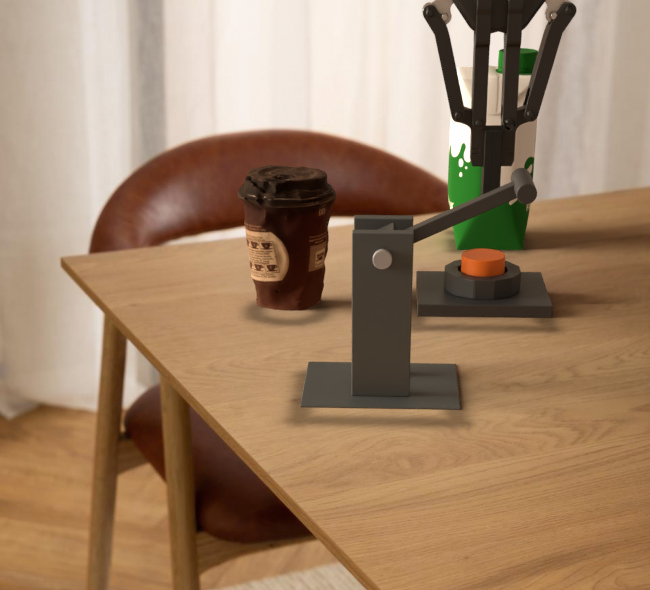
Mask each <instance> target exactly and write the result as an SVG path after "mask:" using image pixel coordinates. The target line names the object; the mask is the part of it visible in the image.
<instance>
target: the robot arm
mask: <svg viewBox="0 0 650 590" xmlns="http://www.w3.org/2000/svg"><path fill="white" fill-rule="evenodd" d="M453 4H454V6H455V8H456V9H457V11H458V12H459V13H460V15H461V17H462V18H463V20H464V21H465V23H466V24H467V26H468V27H469V28H470V30H472V32H473V47H472V48H473V49H472V50H473V51H472V67H473V74H472V100H471V109H470V108H468V107H465V106H464V104H463V99H462V94H461V89H460V84H459V79H458V74H457V65H456V60H455V56H454V55H455V54H454V51H453V50H454V49H453V46H452V40H451V36H450V32H449V29H448V26H447V25H448V24H449V23H450V22H451V20H452V17H453V16H452V11H451V8H452V5H453ZM544 4H545V10H544V18H545V20H546V21H547V23H546V25H545V27H544V30H543V33H542V37H541V41H540V44H539V47H538V50H537V51H538V54H537V57H536V61H535V64H534V68H533V71H532V75H531V78H530V82H529V85H528V89H527V92H526V95H525V99H524V102H523V106H520V107H518V108H517V106H518V86H519V67H520V48H522V37H523V36H522V35H523V31H524V30H525V29H526V28H527V27H528V26H529V24H530V23H531V21H532V20H533V19H534V17H535V16H536V14H537V13H538V12H539V11H540V9H541V8H542V6H543V5H544ZM421 11H422V12H421V13H422V17H423V18H424V21H426V23H427V25H428V27H429V29H430V30H431V32H432V33H433V35H434V40H435V43H436V48H437V52H438V58H439V63H440V67H441V68H440V69H441V72H442V78H443V83H444V87H445V91H446V97H447V101H448V106H449V111H450V117H451V116H452V119H453V120H454V121H455V122H457V123H462V124H465V125H467V126H468V127H469V128H470V129H471V136H470V161H471V164H472V166H473V167H482V178H481V195H483V194H485V193H487V192H490V191H492V190H494V189H496V188H499V187H500V180H501V166H512V164H513V162H514V153H515V134H516V130H517V128H518V127H519V126H520V125H522V124H524V123H527V122H533V121H535V120H536V119H537V120H538V117H539V115H540V110H541V107H542V103H543V100H544V97H545V94H546V90H547V87H548V84H549V80H550V77H551V73H552V71H553V67H554V63H555V60H556V57H557V53H558V50H559V46H560V43H561V40H562V37H563V34H564V32H565V31H566V29H567V28H568V26H569V25H570V23H571V22H572V21H573V19H574V17H575V16H576V14H577V11H578V10H577V6H576V4H575V3H573V2H572V1H570V0H433V1H430V2H426V3H425V4H423V6H422V9H421ZM497 32H499V33H502V34H503V49H504V51H503V74H502V96H501V125H486V117H487V95H488V72H489V66H490V48H491V38H492V37H491V34H495V33H497ZM498 207H499V206H498Z"/></svg>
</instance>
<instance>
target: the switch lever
mask: <svg viewBox="0 0 650 590" xmlns="http://www.w3.org/2000/svg"><path fill="white" fill-rule="evenodd" d="M537 197H538V190H537V188H536V184H535V182H534V179H533V180H532V178H531V175H530V173H529V171H528V170H527V169H525V168H518V169H516V170H514V171H513V173H512V175H511V182H510V183H508V184H505V185H503V186H501V187H499V188H496V189H494V190H492V191H490V192H487V193H485V194H483V195H481V196H479V197H476V198H474V199H472V200H470V201H467V202H465V203H463V204H461V205H458V206H456V207H454V208H452V209H450V208H449V209H446V210H445V211H443V212H440V213H438V214H436V215H434V216H431V217H430V218H426V219H425V220H423V221H420V222H418V223H416V224H413V226H411V227H409V228H407V229H405V230H413V231H414V244H416V243H418V242H421V241H423V240H426V239H428V238H430V237H432V236H435V235H437V234H439V233H441V232H444V231H446V230H449V229H450V228H453V226H455V225H457V224H459V223H462V222H464V221H466V220H468V219H471V218H473V217H475V216H477V215H480V214H482V213H484V212H486V211H489V210H491V209H493V208H496V207H498V206H500V205H502V204H505V203H507V202H509V201H511V200H514V199H516V198H517V199H518V201H519V202H520V203H522V204H530V203H531V204H532V203H533V202H534V201H536V199H537ZM377 230H397V228H396V226H395V223H394V222H393V223H391V224H388V225H386V226H384V227H382V228H379V229H377Z"/></svg>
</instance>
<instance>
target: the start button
mask: <svg viewBox="0 0 650 590" xmlns="http://www.w3.org/2000/svg"><path fill="white" fill-rule="evenodd" d="M460 260H461V272H462V273H464V274H466V275H471V276H480V277H492V276H498V275H503V274H504V271H505V261H506V254H505V253H504V252H503V251H502V250H494V249H483V248H479V249H470V250H463V251H462V252H461V259H460Z"/></svg>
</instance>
